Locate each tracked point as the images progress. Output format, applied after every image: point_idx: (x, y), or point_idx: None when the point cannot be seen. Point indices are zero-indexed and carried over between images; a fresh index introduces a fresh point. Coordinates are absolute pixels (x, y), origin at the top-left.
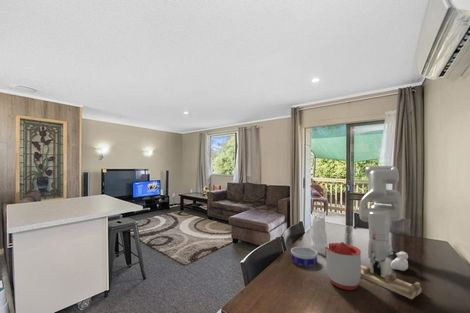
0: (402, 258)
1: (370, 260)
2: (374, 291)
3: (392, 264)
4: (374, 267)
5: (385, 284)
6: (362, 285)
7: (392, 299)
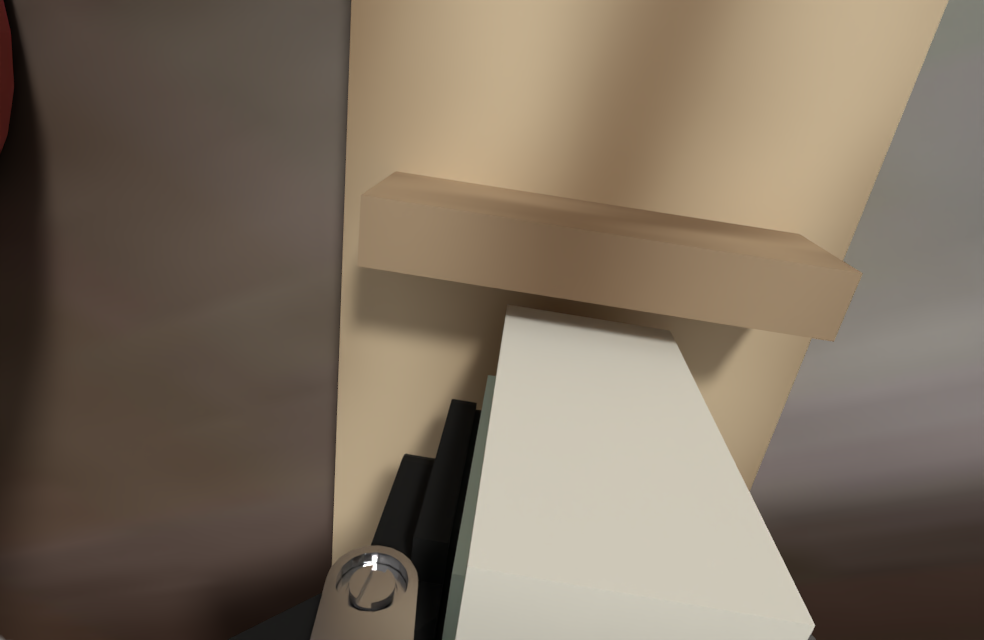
0: None
1: (475, 538)
2: (107, 432)
3: None
4: (375, 543)
5: (334, 546)
6: (93, 258)
7: (142, 601)
